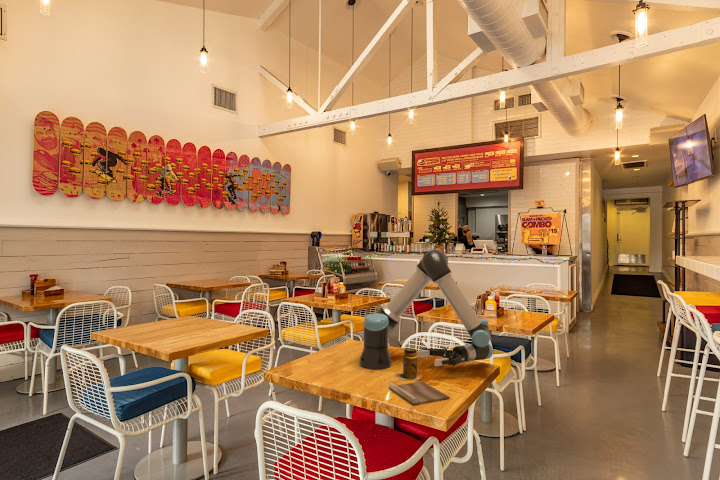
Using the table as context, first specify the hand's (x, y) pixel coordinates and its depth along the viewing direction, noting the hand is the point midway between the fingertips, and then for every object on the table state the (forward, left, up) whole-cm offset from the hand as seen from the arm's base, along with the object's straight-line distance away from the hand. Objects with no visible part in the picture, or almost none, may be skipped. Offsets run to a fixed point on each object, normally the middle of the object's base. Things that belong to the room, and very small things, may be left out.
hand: (425, 358), depth 177 cm
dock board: (+3, -24, -7) cm, 25 cm away
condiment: (-6, -7, -7) cm, 12 cm away
